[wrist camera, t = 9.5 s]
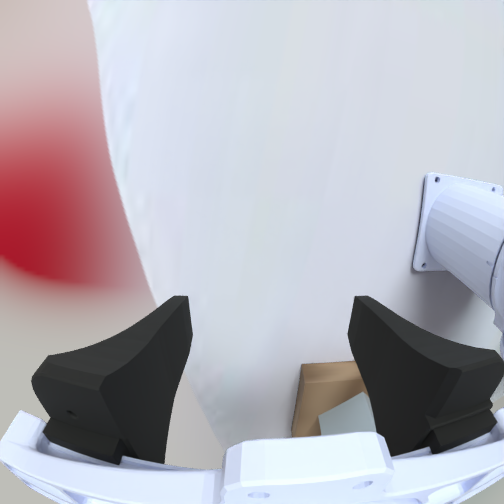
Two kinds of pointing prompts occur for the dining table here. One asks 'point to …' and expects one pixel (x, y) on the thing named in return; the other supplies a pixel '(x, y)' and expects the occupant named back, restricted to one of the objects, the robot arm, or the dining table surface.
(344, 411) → the block
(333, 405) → the plinth
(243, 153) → the dining table surface
